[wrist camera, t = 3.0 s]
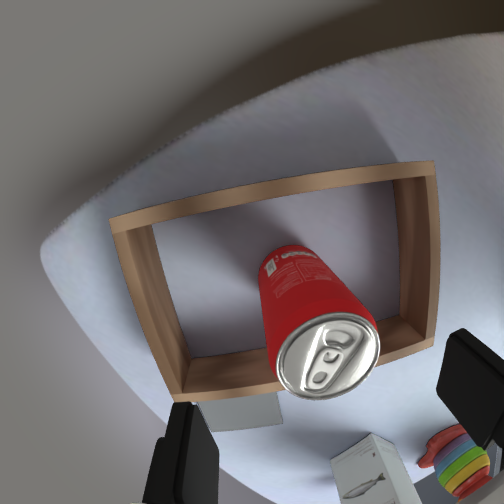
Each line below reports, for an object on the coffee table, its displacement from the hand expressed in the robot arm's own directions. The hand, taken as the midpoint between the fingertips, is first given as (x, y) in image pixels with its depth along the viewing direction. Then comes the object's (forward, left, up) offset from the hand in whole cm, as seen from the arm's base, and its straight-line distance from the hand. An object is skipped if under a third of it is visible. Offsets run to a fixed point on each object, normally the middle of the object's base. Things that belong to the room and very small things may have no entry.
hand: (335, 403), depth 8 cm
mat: (+6, +13, -15) cm, 21 cm away
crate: (-1, 0, -15) cm, 15 cm away
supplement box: (-8, +29, -15) cm, 34 cm away
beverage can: (-1, 0, -15) cm, 15 cm away
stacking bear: (-25, +38, -15) cm, 48 cm away
